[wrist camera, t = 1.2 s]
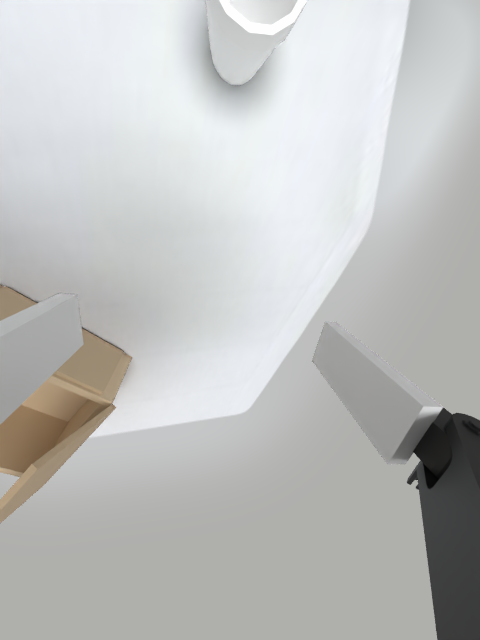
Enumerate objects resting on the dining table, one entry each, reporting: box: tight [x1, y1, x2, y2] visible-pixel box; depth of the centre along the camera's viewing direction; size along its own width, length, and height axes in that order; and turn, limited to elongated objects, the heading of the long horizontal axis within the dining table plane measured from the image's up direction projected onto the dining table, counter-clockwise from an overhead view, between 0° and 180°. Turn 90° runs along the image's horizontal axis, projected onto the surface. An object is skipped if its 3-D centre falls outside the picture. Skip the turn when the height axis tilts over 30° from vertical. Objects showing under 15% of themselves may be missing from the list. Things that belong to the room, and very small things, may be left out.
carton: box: [0, 285, 132, 477], centre depth 36 cm, size 25×23×12 cm
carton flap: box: [0, 404, 116, 523], centre depth 31 cm, size 12×22×1 cm
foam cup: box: [205, 0, 308, 85], centre depth 23 cm, size 10×9×13 cm
